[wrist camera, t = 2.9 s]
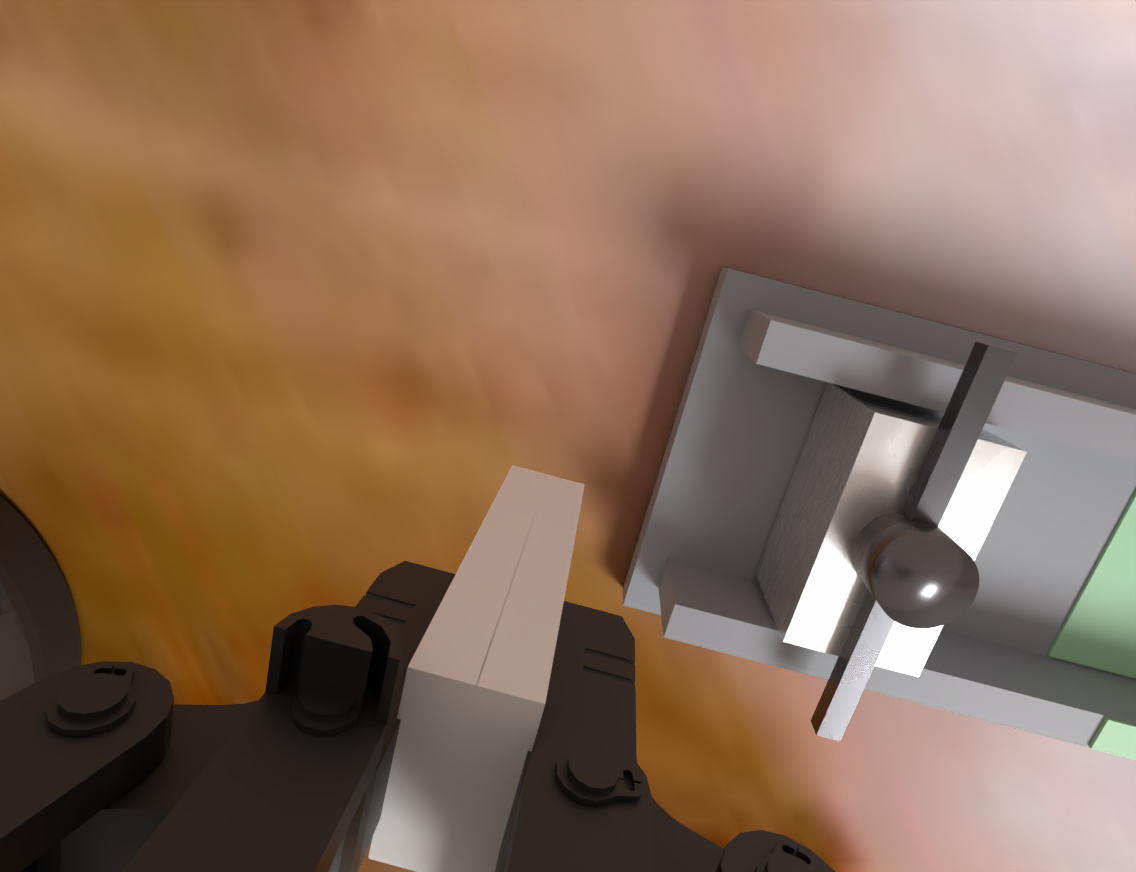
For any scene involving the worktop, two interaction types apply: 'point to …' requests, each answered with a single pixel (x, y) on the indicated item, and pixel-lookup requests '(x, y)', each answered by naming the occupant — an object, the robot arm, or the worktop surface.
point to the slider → (886, 528)
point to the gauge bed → (1007, 556)
